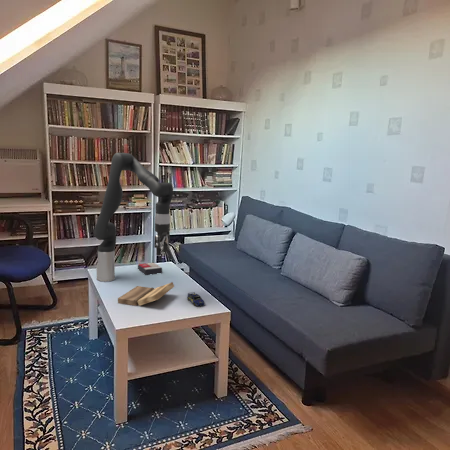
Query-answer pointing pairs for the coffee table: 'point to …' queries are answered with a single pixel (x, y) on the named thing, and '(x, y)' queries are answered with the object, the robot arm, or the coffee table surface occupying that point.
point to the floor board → (134, 295)
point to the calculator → (150, 268)
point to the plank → (155, 294)
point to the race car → (195, 299)
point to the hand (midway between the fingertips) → (162, 253)
